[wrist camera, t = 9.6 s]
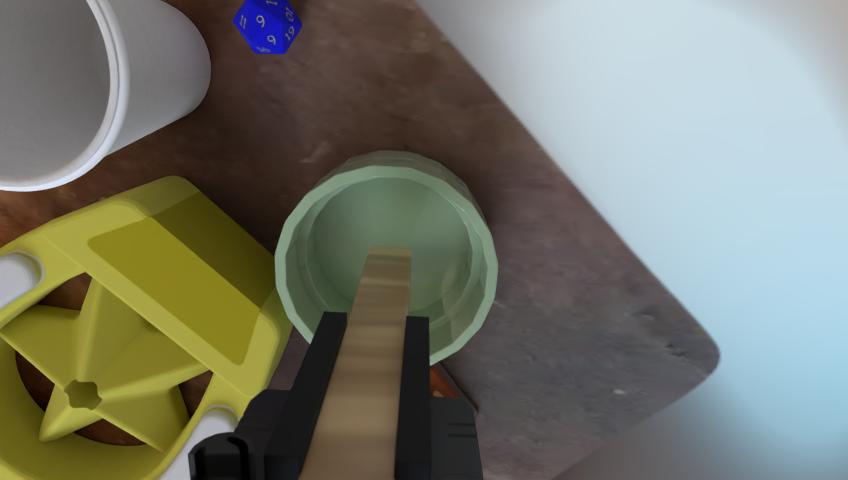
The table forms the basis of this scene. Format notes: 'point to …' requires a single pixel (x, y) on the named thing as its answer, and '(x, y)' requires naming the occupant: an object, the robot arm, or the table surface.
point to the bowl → (390, 245)
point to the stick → (365, 378)
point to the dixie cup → (90, 82)
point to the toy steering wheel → (134, 333)
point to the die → (267, 25)
